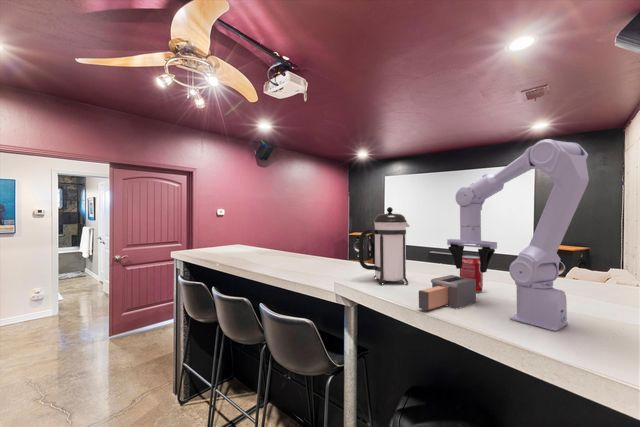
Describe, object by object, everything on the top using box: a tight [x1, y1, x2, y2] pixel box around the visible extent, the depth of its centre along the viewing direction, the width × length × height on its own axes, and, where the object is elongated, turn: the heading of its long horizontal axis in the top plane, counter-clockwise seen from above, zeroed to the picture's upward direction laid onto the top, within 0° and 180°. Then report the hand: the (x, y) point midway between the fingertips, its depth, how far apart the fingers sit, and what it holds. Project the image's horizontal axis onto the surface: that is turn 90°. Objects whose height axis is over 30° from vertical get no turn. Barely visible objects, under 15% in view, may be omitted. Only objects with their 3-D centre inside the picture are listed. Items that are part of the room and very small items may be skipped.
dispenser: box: [430, 274, 477, 309], centre depth 86 cm, size 11×8×7 cm
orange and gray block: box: [418, 285, 449, 311], centre depth 81 cm, size 14×2×5 cm, turn 123°
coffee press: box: [358, 207, 410, 285], centre depth 113 cm, size 17×16×30 cm
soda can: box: [459, 255, 484, 294], centre depth 99 cm, size 7×7×12 cm
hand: (470, 270), depth 88 cm, fingers open, 7 cm apart
